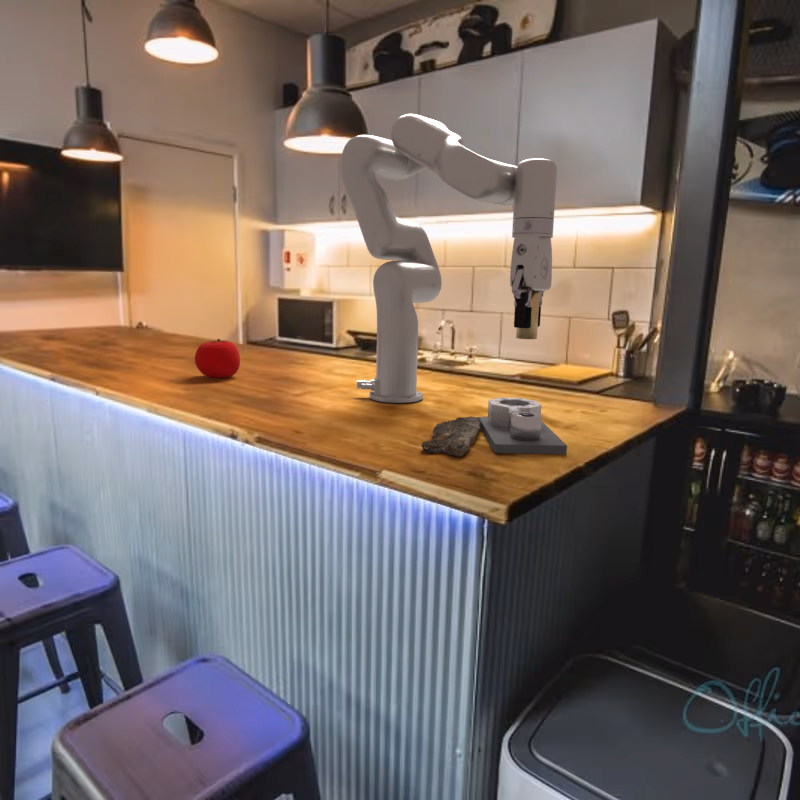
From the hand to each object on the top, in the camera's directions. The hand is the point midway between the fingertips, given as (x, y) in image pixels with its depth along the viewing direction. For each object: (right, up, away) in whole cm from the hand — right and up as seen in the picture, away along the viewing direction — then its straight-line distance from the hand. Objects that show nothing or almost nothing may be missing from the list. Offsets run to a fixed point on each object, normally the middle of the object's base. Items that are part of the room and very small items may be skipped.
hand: (526, 326), depth 120 cm
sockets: (-3, -20, -6) cm, 21 cm away
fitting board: (-3, -21, -7) cm, 23 cm away
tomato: (-74, -8, +48) cm, 89 cm away
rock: (-15, -22, -9) cm, 28 cm away
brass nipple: (0, -2, 0) cm, 2 cm away
